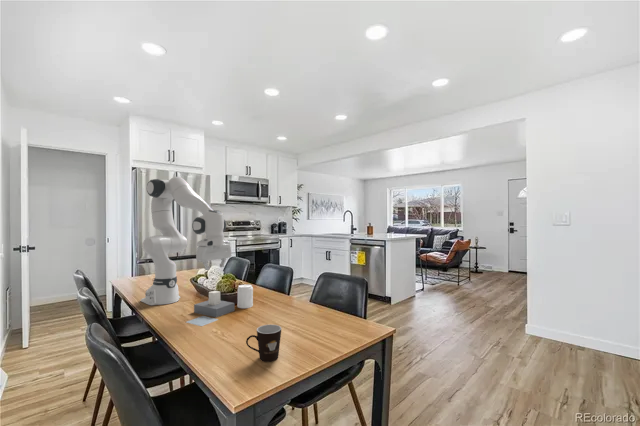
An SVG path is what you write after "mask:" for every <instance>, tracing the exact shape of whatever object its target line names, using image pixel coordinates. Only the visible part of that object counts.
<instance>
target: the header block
mask: <svg viewBox="0 0 640 426" xmlns="http://www.w3.org/2000/svg"><path fill="white" fill-rule="evenodd" d="M193 312H194V313H195V314H199V315H202V316H206V317H211V318H219V317H222V316H224V315H227V314H230V313H232V312H235V302H231V301H226V300H221V299H220V304H217V305H209V299H208V300H204V301H202V302H198V303H195V304H194V303H193Z"/></svg>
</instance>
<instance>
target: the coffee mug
mask: <svg viewBox="0 0 640 426" xmlns="http://www.w3.org/2000/svg"><path fill="white" fill-rule="evenodd" d="M281 335H282V326H280V325H277V324H264V325H260V326H258V327H257V328H256V335H255V334H251V335H249V336H248V337H247V338H246V340H245V344H246V346H247V347H248V348H250V349H251V350H253V351H255V352H257V353H258V354H259V355H258V356H259V360H260V361H261V362H264V363H273V362H275V361H276V360H278V359H279V353H280V347H281V346H280V344H281V337H282V336H281ZM251 338H255V339H256V341H257V345H258V347H257V348H258V349H257V348H254V347H253V346H250V344H249V343H248V342H249V340H250V339H251Z"/></svg>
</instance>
